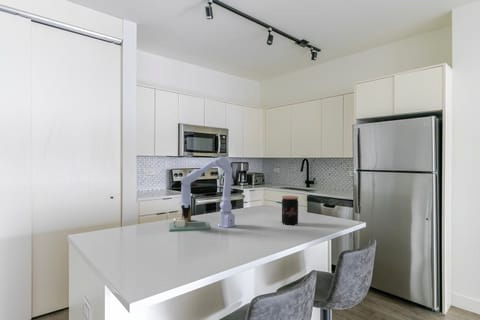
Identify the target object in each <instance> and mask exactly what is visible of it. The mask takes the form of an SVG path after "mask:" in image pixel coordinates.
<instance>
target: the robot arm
mask: <svg viewBox="0 0 480 320" xmlns="http://www.w3.org/2000/svg"><path fill="white" fill-rule="evenodd" d="M217 167H218V168H220V169H222V171H223V172H224V178H223V187H222V197H221V201H220V203H219V207H220V210H219V223H218V224H216V225H217V226H218V227H219V226H220V227H223V228H226V229H227V228H231V227H235V226H236V224H235V221H236V220H235V219H236V217H235V214H234V213H233V212H232V207H233V206H232V203H231V201H232V200H231V195H232V194H231V193H232V183H233V181H232V179H233V168H232V166H231V163H230V161H229V160H228V158H226V157H224V156H221V157H220V156H218V157H217V158H214V159H213V160H211V161H209V162H208V163H206V164H205V165H203V166H202V167H201V168H199V169H198V168H196V169H193V170H192V171H191V172H190V173H186V176H183V177H182V178H181V179H180V183H181V189H180V190H181V191H180V198H181V199H180V201H181V202H178V204H179V205H180V207H181V211H182V210H183V215H184V218H188V214H189V210H190V208H191V207H192V206H191V204H192V203H191V196H192V194H191V185H192V183H193V182H195V181H197V180H198V179H200V178H202V174H204V173H205V172H207V171H209V170H210V169H212V168H217ZM190 206H191V207H190ZM191 209H192V208H191Z"/></svg>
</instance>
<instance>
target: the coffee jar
mask: <svg viewBox="0 0 480 320" xmlns="http://www.w3.org/2000/svg"><path fill="white" fill-rule="evenodd" d="M281 198H282V199H281V223H282V225H284V224H285V226H297V225H298V223H299V200H298V199H299V197H298V196H297V195H283V196H281Z"/></svg>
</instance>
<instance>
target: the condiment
mask: <svg viewBox="0 0 480 320" xmlns="http://www.w3.org/2000/svg"><path fill="white" fill-rule="evenodd" d="M190 207H192V206H191V205H190ZM181 218H184V215H183V210H182V209H181ZM188 222H195V219H192V208H190V210H189V214H188Z"/></svg>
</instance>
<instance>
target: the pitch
mask: <svg viewBox="0 0 480 320" xmlns="http://www.w3.org/2000/svg"><path fill="white" fill-rule="evenodd" d="M168 229H169V232H185V231H186V232H187V231H203V230H204V231H206V230H211V227H210V224H209V223H208V221H192V222H188V226H185V227H176V228H174V222H170V223H169V228H168Z"/></svg>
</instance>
